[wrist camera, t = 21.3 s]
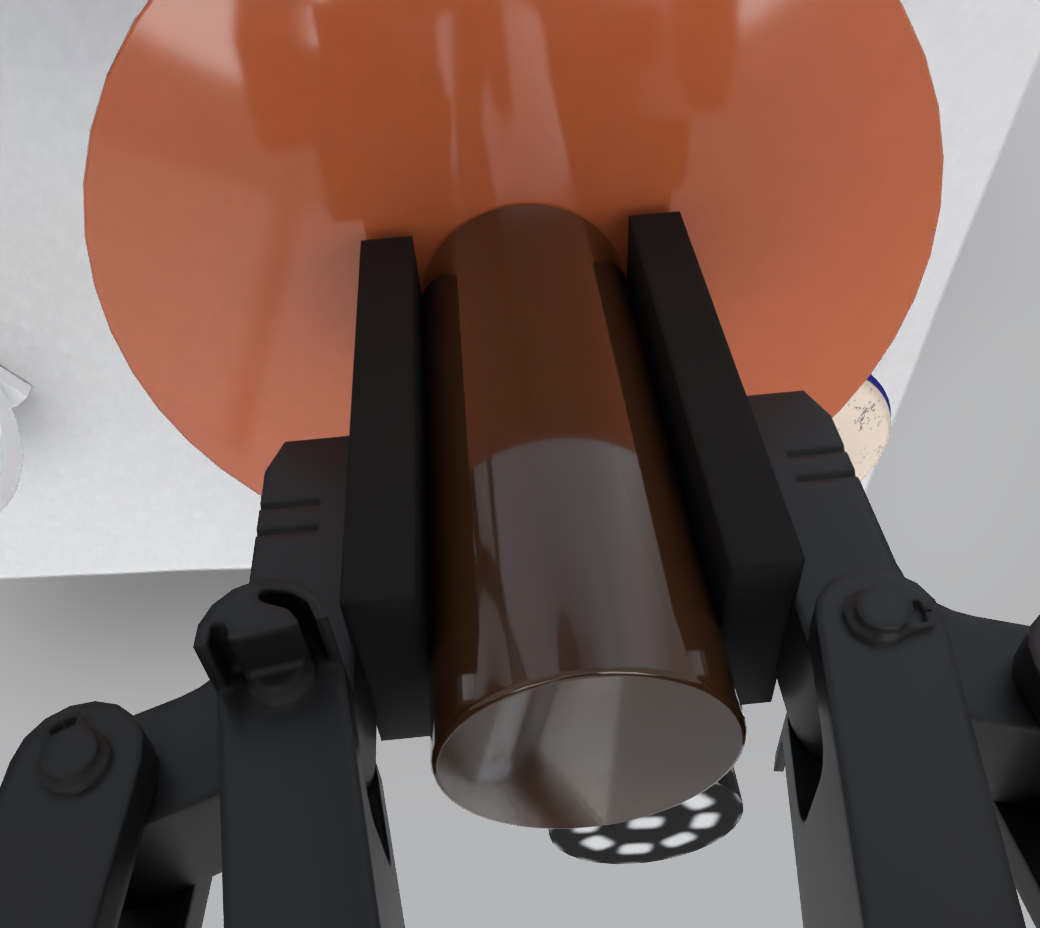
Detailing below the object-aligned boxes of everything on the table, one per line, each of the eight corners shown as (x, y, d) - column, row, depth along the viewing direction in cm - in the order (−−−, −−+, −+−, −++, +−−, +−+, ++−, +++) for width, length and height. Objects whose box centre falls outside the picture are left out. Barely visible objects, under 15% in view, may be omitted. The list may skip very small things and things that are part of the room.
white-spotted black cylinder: (506, 531, 59) (538, 867, 45) (520, 428, 53) (562, 779, 39) (644, 531, 60) (717, 859, 46) (672, 430, 54) (766, 772, 40)
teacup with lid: (787, 399, 53) (856, 571, 45) (624, 380, 51) (665, 556, 43) (892, 201, 45) (1001, 367, 36) (703, 170, 43) (772, 338, 34)
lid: (-63, -170, 12) (-642, 289, 5) (1026, -262, 12) (1760, 69, 5) (228, 540, 21) (150, 1020, 14) (836, 481, 21) (1026, 928, 15)
